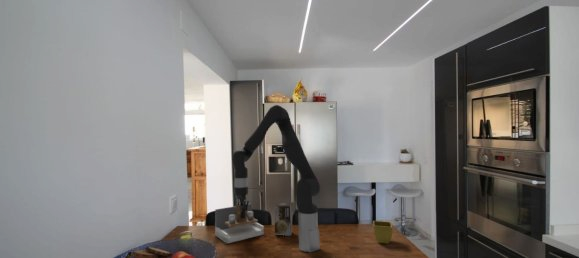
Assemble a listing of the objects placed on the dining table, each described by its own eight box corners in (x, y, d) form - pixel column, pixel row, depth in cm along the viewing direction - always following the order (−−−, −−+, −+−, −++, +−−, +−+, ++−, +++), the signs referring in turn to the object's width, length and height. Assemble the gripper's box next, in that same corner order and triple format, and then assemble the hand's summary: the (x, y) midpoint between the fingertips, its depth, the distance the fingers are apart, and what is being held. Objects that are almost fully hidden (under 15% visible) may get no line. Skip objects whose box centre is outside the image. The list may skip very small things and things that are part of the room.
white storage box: (263, 234, 143) (263, 208, 144) (226, 243, 130) (226, 215, 131) (250, 227, 156) (250, 203, 157) (215, 234, 143) (215, 209, 144)
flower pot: (391, 239, 133) (390, 221, 134) (393, 245, 125) (392, 227, 125) (373, 238, 136) (373, 220, 136) (374, 244, 127) (373, 225, 128)
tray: (257, 222, 144) (257, 203, 144) (230, 227, 134) (230, 208, 135) (251, 218, 150) (250, 201, 151) (224, 224, 141) (224, 205, 141)
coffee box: (292, 232, 147) (291, 203, 148) (290, 236, 140) (290, 205, 141) (276, 231, 147) (275, 203, 148) (274, 235, 141) (274, 205, 142)
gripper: (253, 186, 140) (253, 219, 139) (241, 183, 151) (241, 213, 150) (240, 188, 136) (240, 221, 135) (229, 185, 147) (229, 215, 146)
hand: (241, 217), depth 142 cm, fingers closed on tray, 3 cm apart
